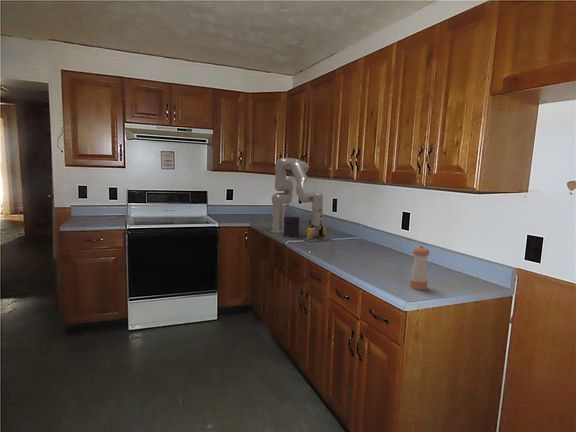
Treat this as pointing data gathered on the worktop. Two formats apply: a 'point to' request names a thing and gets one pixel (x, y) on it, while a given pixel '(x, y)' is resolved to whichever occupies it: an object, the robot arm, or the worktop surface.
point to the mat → (316, 239)
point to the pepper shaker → (419, 269)
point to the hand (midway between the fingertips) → (316, 233)
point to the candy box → (315, 233)
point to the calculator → (291, 226)
